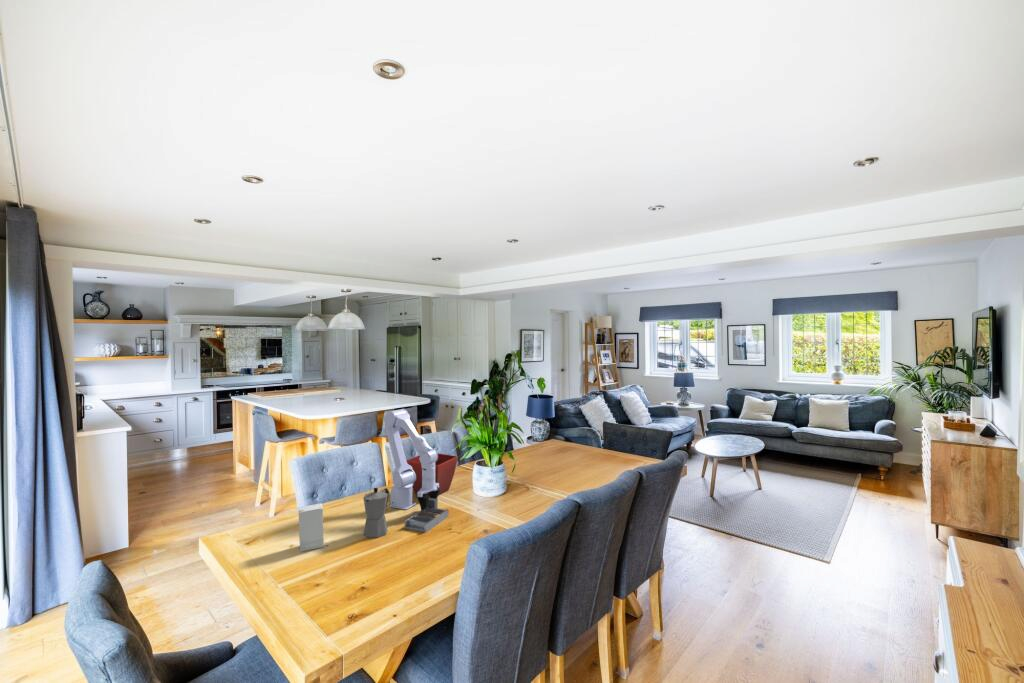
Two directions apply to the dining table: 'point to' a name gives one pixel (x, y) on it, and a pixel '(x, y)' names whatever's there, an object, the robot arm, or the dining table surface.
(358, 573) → the dining table surface
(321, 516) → the skincare box
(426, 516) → the rack
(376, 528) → the coffeepot
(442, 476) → the plant pot
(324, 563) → the dining table surface
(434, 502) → the block
